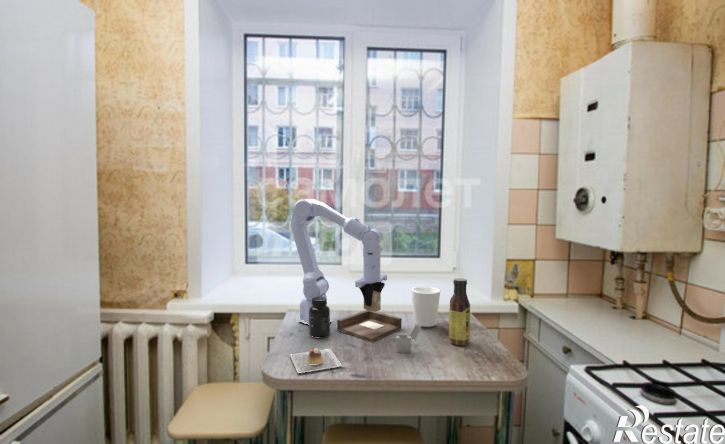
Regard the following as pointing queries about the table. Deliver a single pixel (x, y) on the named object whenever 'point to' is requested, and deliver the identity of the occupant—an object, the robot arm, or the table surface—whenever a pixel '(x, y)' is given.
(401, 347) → the lighter
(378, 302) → the maple block
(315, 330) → the supplement bottle
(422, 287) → the cup
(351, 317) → the corner board
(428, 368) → the table surface
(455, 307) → the sauce bottle
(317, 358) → the dessert
